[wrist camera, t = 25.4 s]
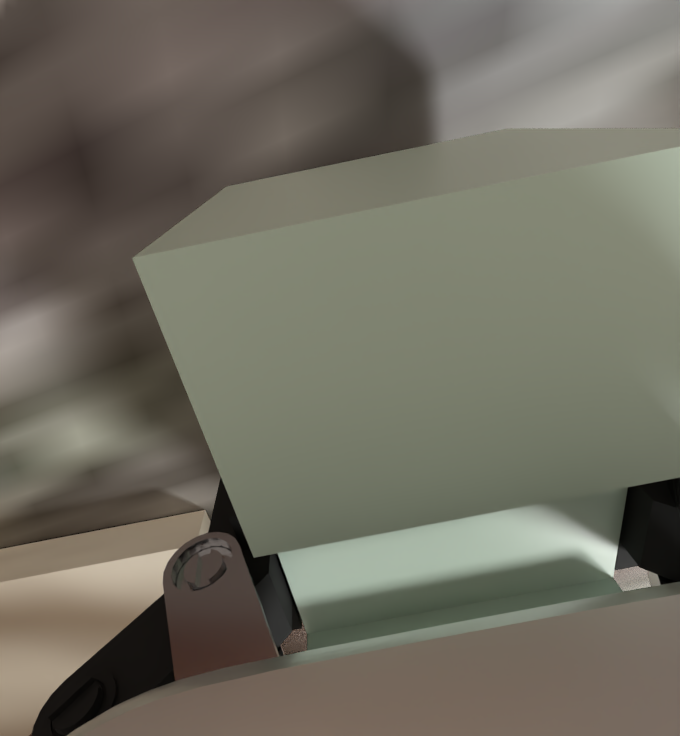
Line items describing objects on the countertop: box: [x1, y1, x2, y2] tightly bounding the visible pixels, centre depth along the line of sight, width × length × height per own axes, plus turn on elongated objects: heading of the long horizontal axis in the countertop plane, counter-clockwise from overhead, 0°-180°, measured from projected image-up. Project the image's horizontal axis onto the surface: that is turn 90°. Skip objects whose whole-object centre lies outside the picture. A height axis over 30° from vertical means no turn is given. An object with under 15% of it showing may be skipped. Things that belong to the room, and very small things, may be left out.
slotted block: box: [132, 128, 680, 651], centre depth 10 cm, size 12×6×6 cm, turn 10°
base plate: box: [0, 510, 210, 736], centre depth 20 cm, size 20×14×2 cm
